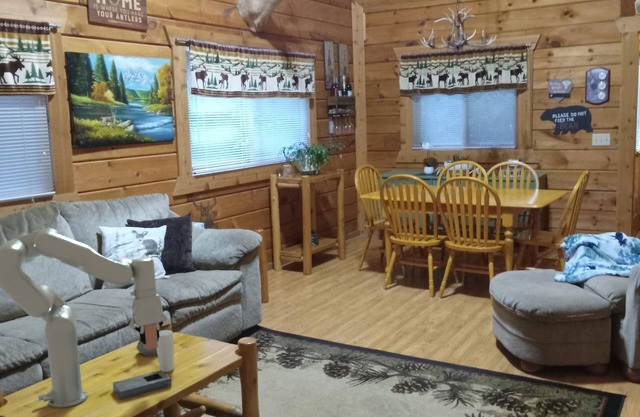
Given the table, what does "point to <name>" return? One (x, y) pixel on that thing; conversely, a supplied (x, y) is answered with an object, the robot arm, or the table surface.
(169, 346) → the drinking glass
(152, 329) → the square peg
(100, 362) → the table surface
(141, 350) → the coffee pot
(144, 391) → the square hole plate
